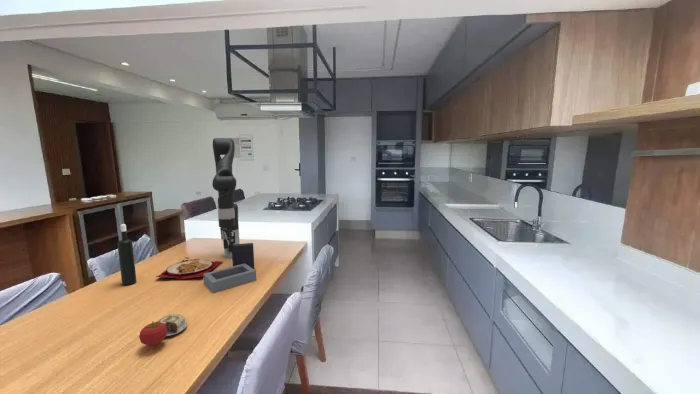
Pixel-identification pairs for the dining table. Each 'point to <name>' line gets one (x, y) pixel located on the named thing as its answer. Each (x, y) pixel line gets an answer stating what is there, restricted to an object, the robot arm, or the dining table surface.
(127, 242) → the wine bottle
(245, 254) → the dark bevelled slab
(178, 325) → the cake
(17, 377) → the dining table surface
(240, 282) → the tray
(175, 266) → the plate with food
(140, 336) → the tomato
